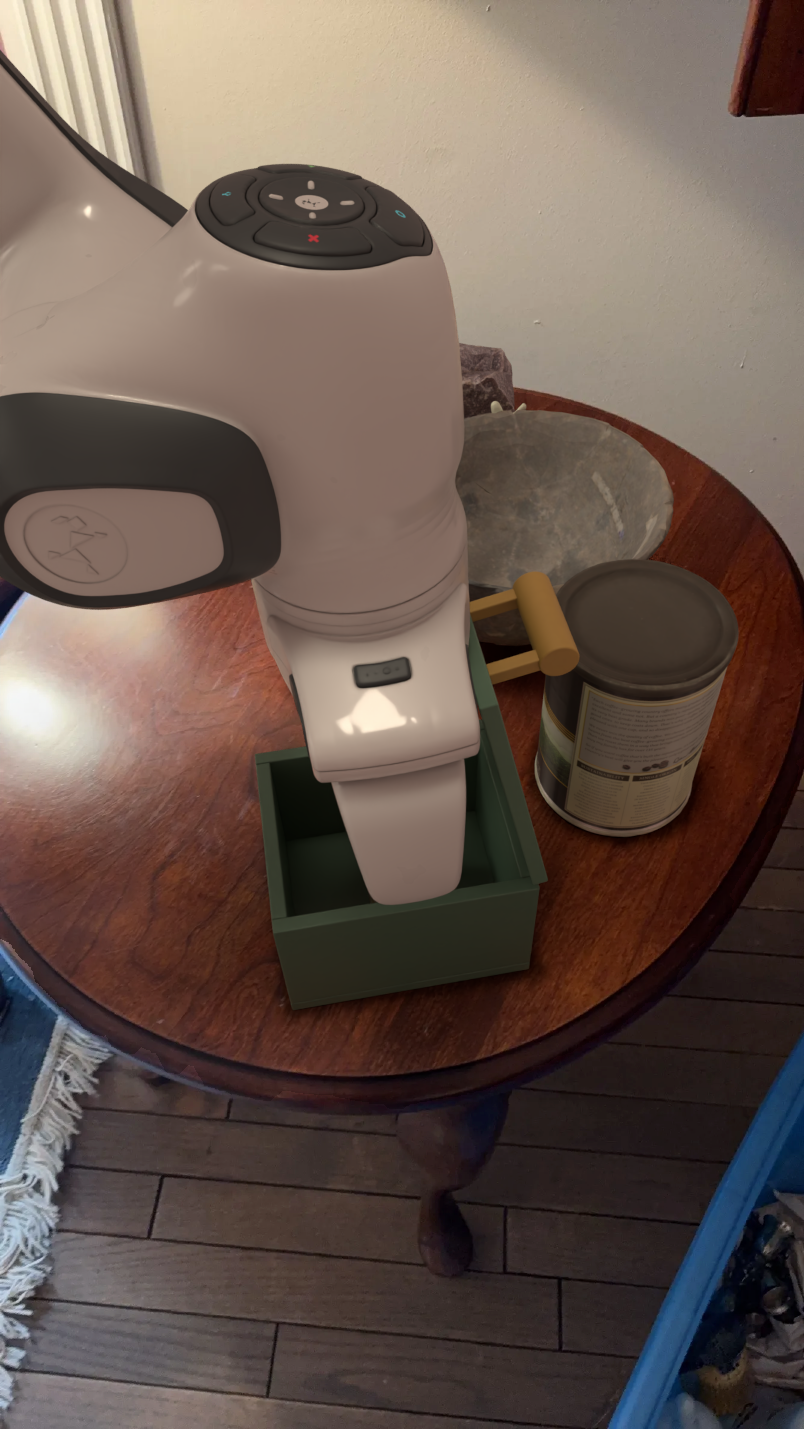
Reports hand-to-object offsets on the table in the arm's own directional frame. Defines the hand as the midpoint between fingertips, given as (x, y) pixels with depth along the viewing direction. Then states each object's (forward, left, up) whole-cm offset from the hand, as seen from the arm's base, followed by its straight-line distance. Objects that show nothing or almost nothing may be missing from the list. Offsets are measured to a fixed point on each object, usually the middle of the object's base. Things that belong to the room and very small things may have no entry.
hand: (389, 788), depth 54 cm
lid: (+4, -2, +5) cm, 7 cm away
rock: (+32, +39, -13) cm, 52 cm away
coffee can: (+17, 0, -12) cm, 20 cm away
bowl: (+22, +17, -11) cm, 30 cm away
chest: (0, 0, -11) cm, 11 cm away
